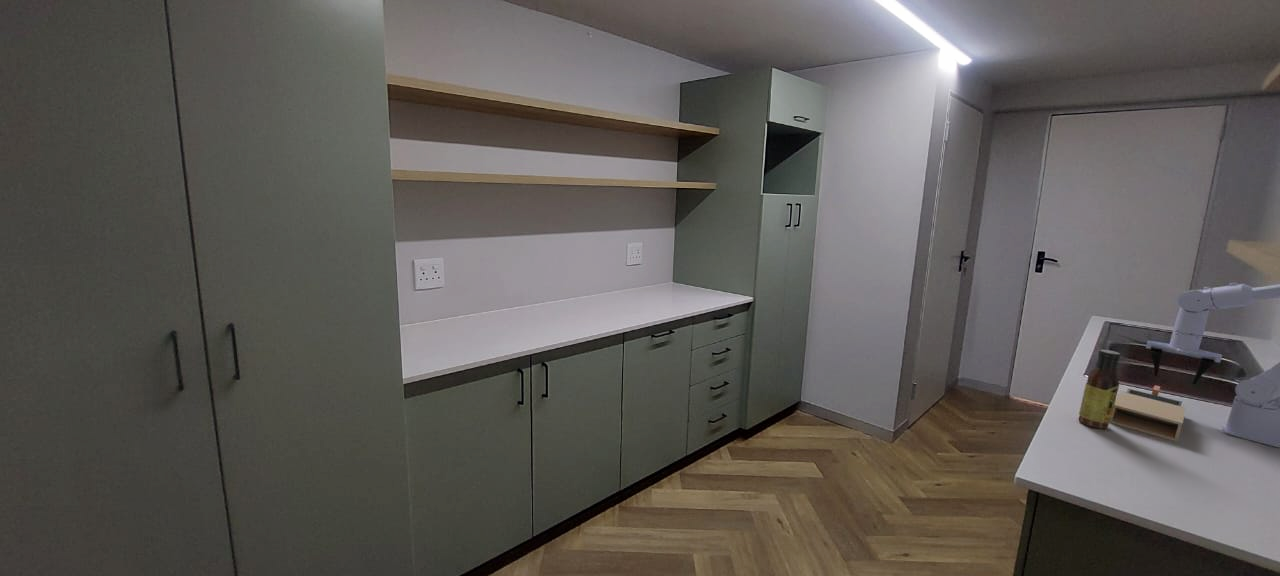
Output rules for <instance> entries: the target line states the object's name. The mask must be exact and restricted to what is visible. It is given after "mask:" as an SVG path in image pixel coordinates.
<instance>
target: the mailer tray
mask: <svg viewBox="0 0 1280 576" xmlns="http://www.w3.org/2000/svg"><path fill="white" fill-rule="evenodd" d="M1160 389H1161V386H1160V385H1154V386H1153V389H1152V391H1151V393H1149V392H1144V391H1141V390H1136V389H1131V388H1128V389H1127V391H1126V393H1130V394H1134V395H1138V396H1142V397H1146V398H1150V399H1154V400H1158V401H1162V402H1166V403H1169V404H1173V405H1177V406H1181V407H1182V403H1183V401H1180V400H1177V399H1172V398H1169V397H1164V396H1162V395H1161V396H1160V395H1159V393H1160ZM1119 412H1123V413H1126V414H1130V415H1134V416H1137V417H1141V418H1145V419H1148V420H1152V421H1156V422H1159V423H1163V424H1167V425H1170V426H1174V427H1175V425H1176V424H1175V423H1171V422H1167V421H1164V420H1160V419H1156V418H1153V417H1149V416H1145V415H1141V414H1138V413H1134V412H1130V411H1127V410H1123V409H1119Z"/></svg>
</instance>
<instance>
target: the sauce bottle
mask: <svg viewBox="0 0 1280 576" xmlns="http://www.w3.org/2000/svg"><path fill="white" fill-rule="evenodd" d="M1120 358H1121V353H1120V352H1118V351H1114V350H1109V349H1100V350H1099V351H1098V361H1097V363H1096V367H1095V368H1094V369H1092V370H1091V371H1090V372H1089V374H1088V376H1087V381H1086V383H1085V387H1084V391H1083V396H1082V400H1081V405H1080V408H1079V413H1078V421H1079V422H1080V423H1081V424H1082V425H1085V426H1087V427H1090V428H1095V429H1108V427H1109V425H1110V420H1111V416H1112V412H1113V408H1114V404H1115V400H1116V398H1117V397H1118V391H1119V388H1120V387H1119V386H1120V381H1119V377H1118V373H1117V367H1118V362H1119V359H1120Z"/></svg>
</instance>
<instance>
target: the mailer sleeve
mask: <svg viewBox="0 0 1280 576" xmlns="http://www.w3.org/2000/svg"><path fill="white" fill-rule="evenodd" d="M1126 392H1127V391H1126ZM1126 392H1124V391H1120V392H1119V393H1118V394H1117V396H1116V400H1115V404H1114V408H1113V412H1112V416H1111V420H1110V423H1111V424H1113V425H1118V426H1121V427H1125V428H1128V429H1132V430H1135V431H1138V432H1142V433H1145V434H1148V435H1149V434H1150V435H1153V436H1156V437H1158V438H1159V437H1160V438H1163V439H1167V440H1169V441H1173V442H1176V443H1178V442H1179V441H1178V440H1179V438H1180V435H1181V430H1182V428H1183V424H1184V421H1185V420H1184V418H1185V415H1186V410H1187V407H1186V406H1182V405H1181V406H1177V405H1173V404H1169V403H1166V402H1162V401H1158V400H1154V399H1150V398H1146V397H1142V396H1138V395H1134V394H1130V393H1126ZM1119 409H1123V410H1127V411H1130V412H1134V413H1138V414H1141V415H1145V416H1149V417H1153V418H1156V419H1160V420H1164V421H1167V422H1171V423H1175V424H1176V425H1175V427H1174V426H1170V425H1167V424H1163V423H1159V422H1156V421H1152V420H1148V419H1145V418H1141V417H1137V416H1134V415H1130V414H1126V413H1123V412H1119ZM1110 423H1109V424H1110Z"/></svg>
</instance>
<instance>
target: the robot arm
mask: <svg viewBox="0 0 1280 576" xmlns="http://www.w3.org/2000/svg"><path fill="white" fill-rule="evenodd" d="M1278 298H1280V284H1272V285H1266V286H1258V287H1252V286H1250V285H1248V284H1246V283H1240V284H1239V283H1238V282H1231V283H1228V285H1224V286H1218V287H1211V286H1204V287H1203V289H1191V290H1188V291H1185V292H1183V293H1181V294H1180V296H1178V299H1177V302H1178V305H1179V310H1178V314H1177V315H1176V319H1175V323H1174V326H1173V331H1172V333H1171V337H1170V341H1169V343H1167V342H1159V341H1153V340H1147V343H1146V345H1145V348H1146V349H1149V352H1150V355H1151V359H1152V362H1153V369H1154V371H1153V372H1154V373H1153V376H1155V377H1158V375H1159V371H1160V365H1161V360H1162V357H1163V353H1164V352H1167V353H1172V354H1177V355H1182V356H1188V357H1191V358H1192V357H1193V358H1198V359H1200V360H1199V364H1198V367H1197V371H1196V373H1195V375H1194V377H1193V380H1192V385H1194V386H1196V385H1197V384H1198V381H1199V380H1200V378H1201V377H1202V376H1203V375H1204V373H1205V372H1206V371H1207V370H1209V369H1210V368H1211V367H1212V366H1213V365H1214V363H1218V364H1220V363H1221V360H1222V357H1223V355H1222V354H1221V353H1215V352H1211V351H1207V350H1203V349H1200V346H1201V343H1202V339H1203V336H1204V332H1205V329H1206V326H1207V322H1208V317H1209V313H1210V310H1211V309H1214V310H1221V309H1223V310H1224V309H1232V308H1241V307H1251V306H1252V305H1254V303H1255V302H1256V301H1257V300H1267V299H1268V300H1269V299H1278ZM1235 394H1236V395H1235V396H1234V399H1233V402H1232V407H1231V409H1230V413H1229V415H1228V418H1227V422H1226V423H1222V433H1224V434H1226V435H1230V436H1234V437H1238V438H1241V439H1245V440H1248V441H1249V440H1250V441H1253V442H1256V443H1260V444H1264V445H1267V446H1272V447H1276V448H1280V408H1279V404H1278V403H1277V401H1276V400H1277V399H1279V398H1280V361H1279V362H1277V363H1276V364H1274V365H1273V366H1271V367H1269V369H1266V370H1265V371H1263V372H1261V373H1260V374H1258V375H1255V376H1253V377H1251V378H1249V379H1248V378H1247V379H1244V380H1242V381H1240V382H1238V383H1237V384H1236V386H1235Z"/></svg>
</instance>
